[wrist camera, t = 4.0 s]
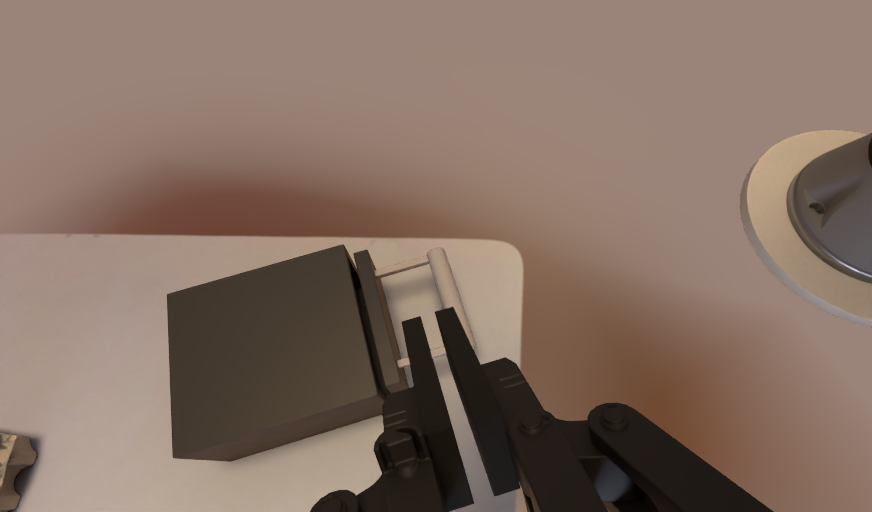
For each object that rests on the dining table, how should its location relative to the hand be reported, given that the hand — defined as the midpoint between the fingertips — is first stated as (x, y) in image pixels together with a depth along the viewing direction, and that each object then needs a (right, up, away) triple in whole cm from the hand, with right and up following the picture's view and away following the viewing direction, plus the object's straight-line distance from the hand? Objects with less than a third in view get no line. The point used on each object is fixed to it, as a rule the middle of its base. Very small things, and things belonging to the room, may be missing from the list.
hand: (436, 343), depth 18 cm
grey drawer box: (-12, -7, +24) cm, 28 cm away
